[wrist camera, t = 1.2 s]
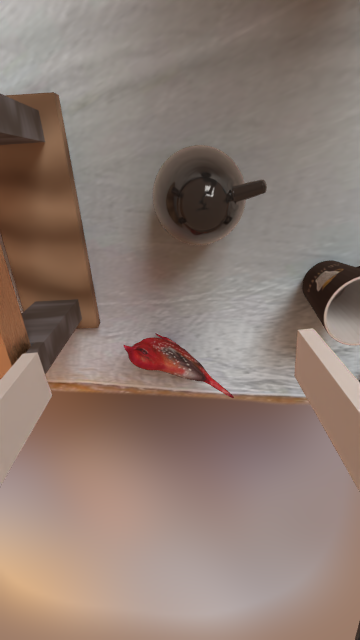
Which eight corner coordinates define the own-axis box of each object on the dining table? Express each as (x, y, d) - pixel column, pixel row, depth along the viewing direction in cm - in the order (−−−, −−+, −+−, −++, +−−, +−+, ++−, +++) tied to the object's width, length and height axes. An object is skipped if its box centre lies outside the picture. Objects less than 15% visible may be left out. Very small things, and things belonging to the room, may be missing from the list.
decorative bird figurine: (136, 311, 46) (126, 345, 37) (233, 366, 50) (245, 409, 41) (127, 326, 47) (114, 363, 38) (222, 379, 51) (232, 423, 42)
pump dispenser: (246, 222, 40) (281, 248, 27) (170, 245, 42) (165, 282, 28) (228, 135, 36) (258, 112, 22) (144, 164, 37) (123, 159, 24)
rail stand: (-31, 101, 35) (-188, 48, 20) (58, 95, 35) (-34, 37, 20) (33, 326, 47) (-35, 398, 32) (100, 323, 47) (62, 394, 32)
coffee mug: (303, 319, 46) (333, 355, 37) (287, 268, 43) (315, 293, 34) (383, 288, 44) (436, 318, 35) (373, 232, 41) (428, 249, 32)
